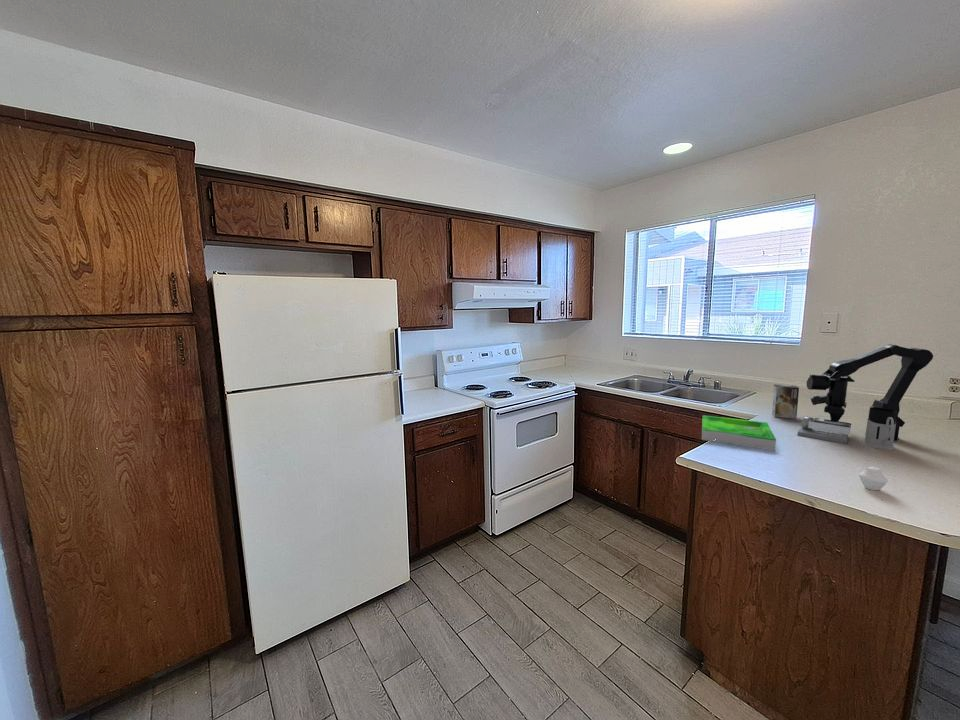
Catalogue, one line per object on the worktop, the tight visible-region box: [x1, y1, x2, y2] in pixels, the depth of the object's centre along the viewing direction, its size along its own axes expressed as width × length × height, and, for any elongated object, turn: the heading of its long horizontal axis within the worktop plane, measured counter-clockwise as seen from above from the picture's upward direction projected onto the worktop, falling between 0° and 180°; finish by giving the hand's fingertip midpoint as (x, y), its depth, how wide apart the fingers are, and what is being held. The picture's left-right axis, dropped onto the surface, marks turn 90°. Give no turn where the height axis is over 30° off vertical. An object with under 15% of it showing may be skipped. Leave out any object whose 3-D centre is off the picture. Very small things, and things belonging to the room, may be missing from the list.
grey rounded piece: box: [862, 406, 897, 450], centre depth 148 cm, size 9×14×15 cm, turn 149°
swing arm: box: [801, 416, 852, 436], centre depth 162 cm, size 15×5×5 cm, turn 44°
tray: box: [701, 414, 777, 451], centre depth 164 cm, size 25×25×5 cm
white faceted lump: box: [858, 466, 889, 491], centre depth 115 cm, size 6×6×7 cm
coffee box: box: [771, 384, 800, 419], centre depth 192 cm, size 9×6×16 cm
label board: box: [797, 425, 849, 445], centre depth 163 cm, size 16×12×2 cm
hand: (833, 425), depth 166 cm, fingers closed
